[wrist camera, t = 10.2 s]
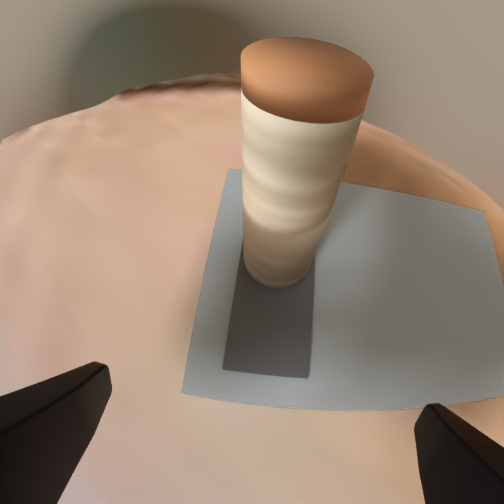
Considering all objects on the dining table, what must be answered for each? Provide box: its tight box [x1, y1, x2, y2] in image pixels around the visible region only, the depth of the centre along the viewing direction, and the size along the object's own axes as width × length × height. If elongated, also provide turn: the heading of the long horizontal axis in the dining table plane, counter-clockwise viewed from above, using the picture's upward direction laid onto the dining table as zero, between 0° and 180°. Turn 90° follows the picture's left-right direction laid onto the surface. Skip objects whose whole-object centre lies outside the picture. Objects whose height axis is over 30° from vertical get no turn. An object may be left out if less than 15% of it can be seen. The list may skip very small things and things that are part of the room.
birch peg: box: [241, 37, 374, 289], centre depth 12 cm, size 4×4×11 cm
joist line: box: [222, 241, 315, 379], centre depth 17 cm, size 12×4×1 cm, turn 173°
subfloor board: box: [181, 169, 504, 411], centre depth 17 cm, size 20×14×2 cm
